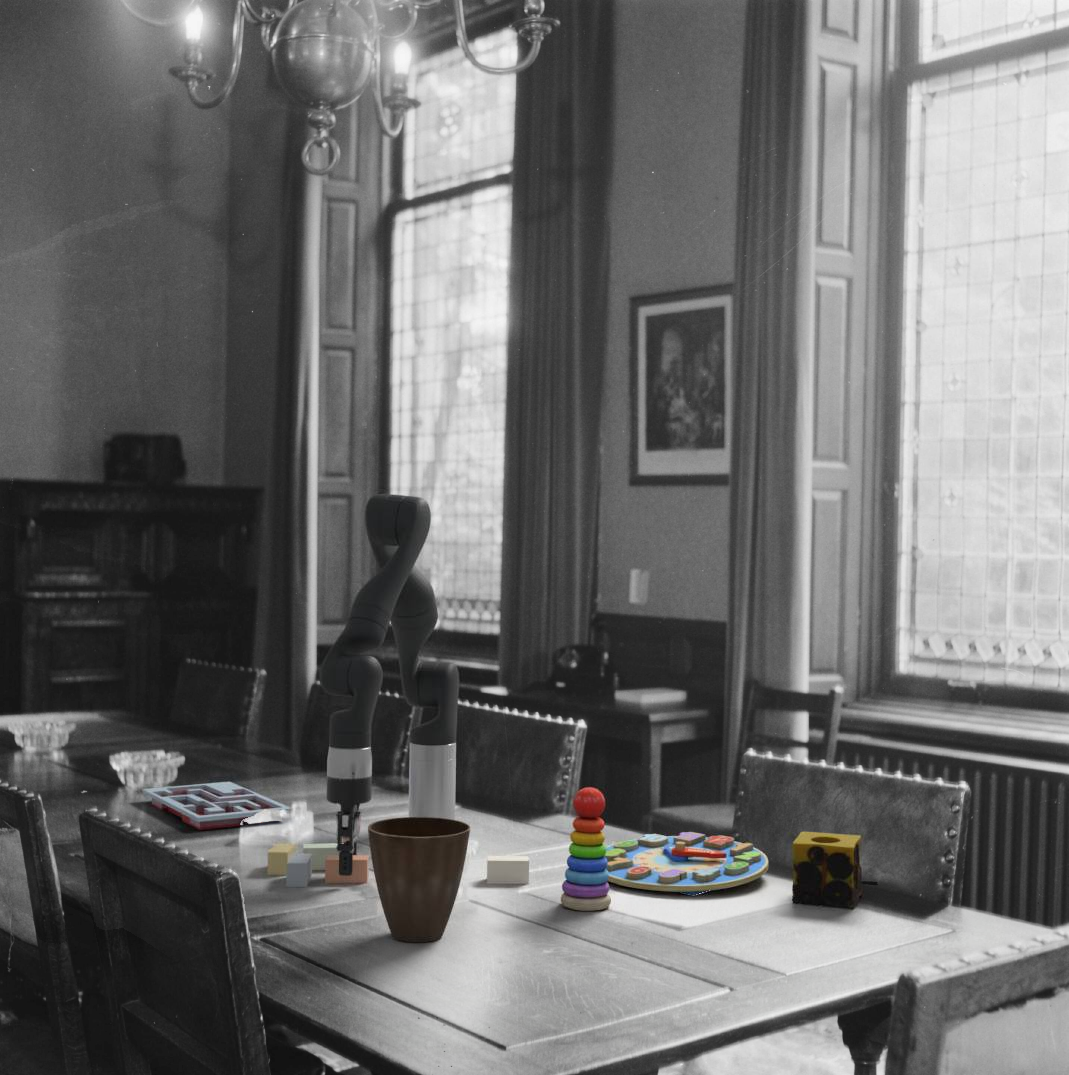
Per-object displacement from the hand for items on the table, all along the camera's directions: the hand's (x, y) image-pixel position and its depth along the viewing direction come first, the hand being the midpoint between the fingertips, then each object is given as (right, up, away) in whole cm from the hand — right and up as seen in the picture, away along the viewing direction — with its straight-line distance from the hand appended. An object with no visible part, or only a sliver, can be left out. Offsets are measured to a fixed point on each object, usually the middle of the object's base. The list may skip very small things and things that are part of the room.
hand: (347, 869), depth 239 cm
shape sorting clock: (+57, -3, +8) cm, 57 cm away
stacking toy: (+40, -3, -14) cm, 42 cm away
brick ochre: (-12, -2, +7) cm, 14 cm away
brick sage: (-5, -2, +9) cm, 11 cm away
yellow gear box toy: (+79, -4, -7) cm, 80 cm away
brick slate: (-8, -2, -1) cm, 8 cm away
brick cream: (+27, -3, +2) cm, 27 cm away
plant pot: (+14, -2, -32) cm, 35 cm away
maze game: (-35, -2, +57) cm, 67 cm away
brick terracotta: (0, -2, 0) cm, 2 cm away
